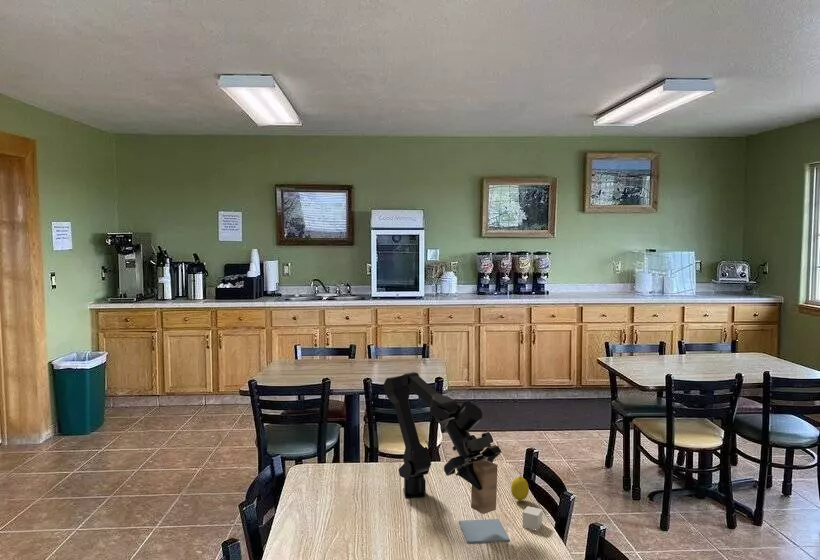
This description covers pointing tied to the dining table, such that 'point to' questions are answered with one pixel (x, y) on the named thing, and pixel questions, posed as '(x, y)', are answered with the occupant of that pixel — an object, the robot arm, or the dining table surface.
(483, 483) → the tall block
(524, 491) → the lemon
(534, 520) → the grey cube
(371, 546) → the dining table surface
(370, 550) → the dining table surface
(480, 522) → the slate mat
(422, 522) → the dining table surface
